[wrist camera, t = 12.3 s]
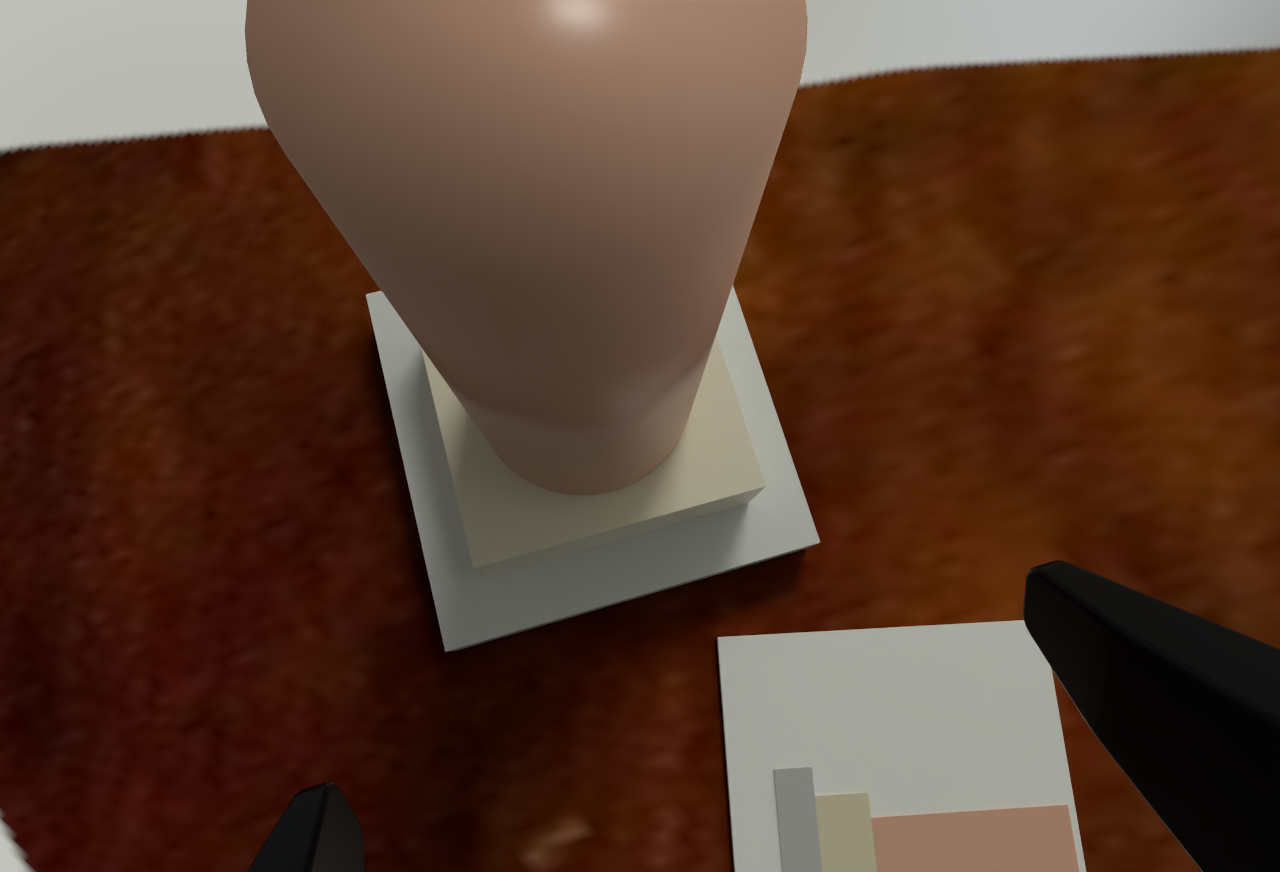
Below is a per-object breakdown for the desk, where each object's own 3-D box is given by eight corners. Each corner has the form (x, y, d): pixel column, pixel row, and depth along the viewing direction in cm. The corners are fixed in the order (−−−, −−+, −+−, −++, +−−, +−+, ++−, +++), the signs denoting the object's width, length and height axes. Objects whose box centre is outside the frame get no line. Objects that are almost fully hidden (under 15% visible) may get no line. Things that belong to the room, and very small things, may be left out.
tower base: (806, 548, 22) (847, 530, 18) (456, 650, 21) (422, 653, 17) (702, 236, 25) (719, 161, 21) (380, 315, 24) (335, 252, 20)
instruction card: (717, 637, 22) (717, 637, 21) (1039, 619, 22) (1043, 619, 22) (755, 1161, 19) (757, 1167, 19) (1126, 1130, 19) (1132, 1135, 19)
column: (658, 522, 18) (727, 337, 7) (444, 459, 19) (150, 174, 7) (716, 320, 20) (860, -135, 8) (514, 263, 20) (366, -261, 8)
